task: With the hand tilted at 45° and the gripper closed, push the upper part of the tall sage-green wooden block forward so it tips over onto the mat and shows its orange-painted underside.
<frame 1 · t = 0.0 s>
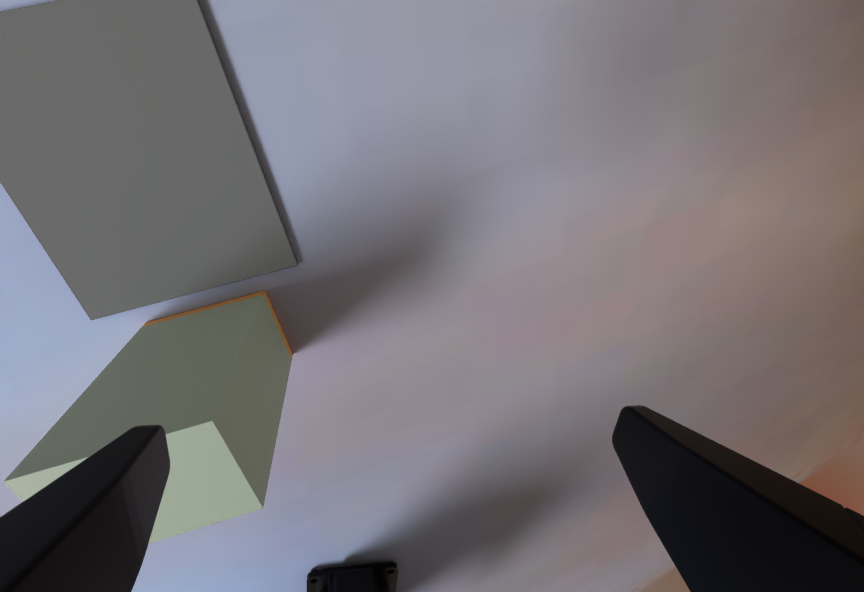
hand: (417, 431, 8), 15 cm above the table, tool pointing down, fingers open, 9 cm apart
mat: (136, 167, 18), on the table
block: (222, 339, 22), on the table
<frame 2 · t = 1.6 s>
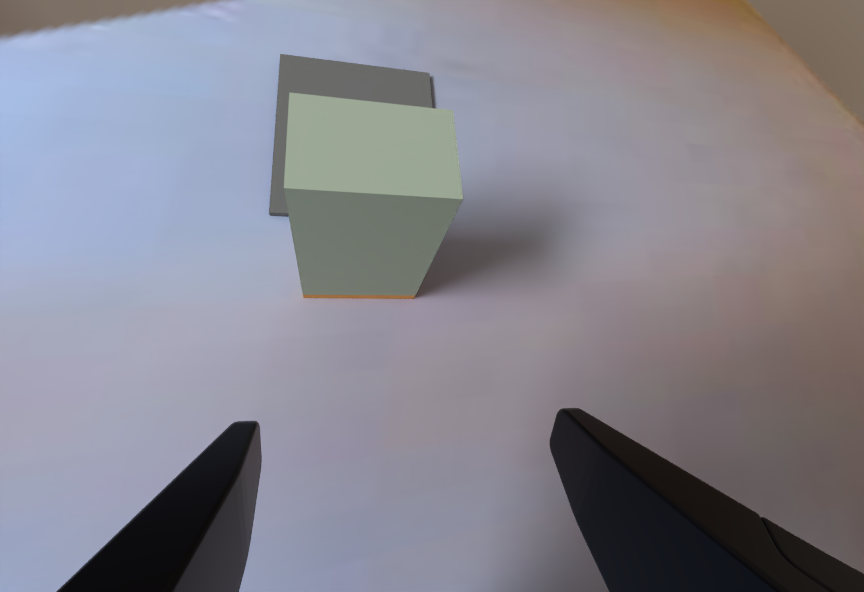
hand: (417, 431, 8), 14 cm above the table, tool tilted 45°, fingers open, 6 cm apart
mat: (358, 137, 27), on the table
block: (359, 265, 24), on the table
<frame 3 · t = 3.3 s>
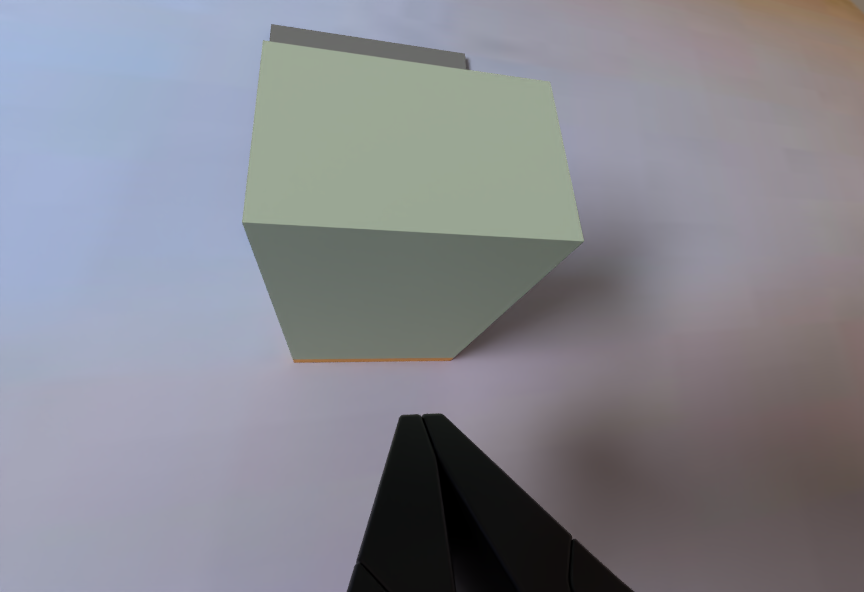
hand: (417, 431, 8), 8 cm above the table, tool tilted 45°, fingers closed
mat: (373, 135, 20), on the table
block: (374, 312, 17), on the table
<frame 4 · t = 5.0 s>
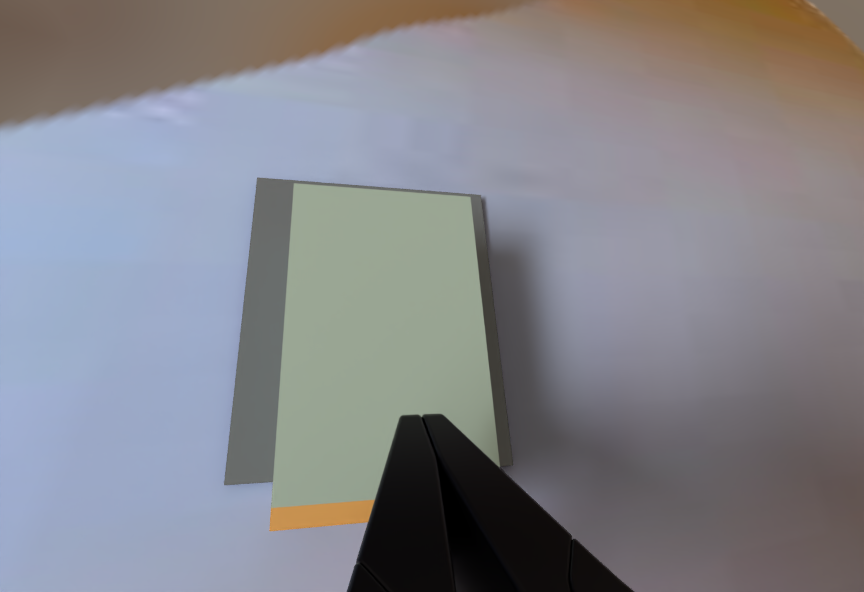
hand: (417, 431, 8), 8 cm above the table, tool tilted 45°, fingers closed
mat: (376, 314, 17), on the table
block: (385, 512, 13), point 2 cm above the table, tilted 90°, touching mat
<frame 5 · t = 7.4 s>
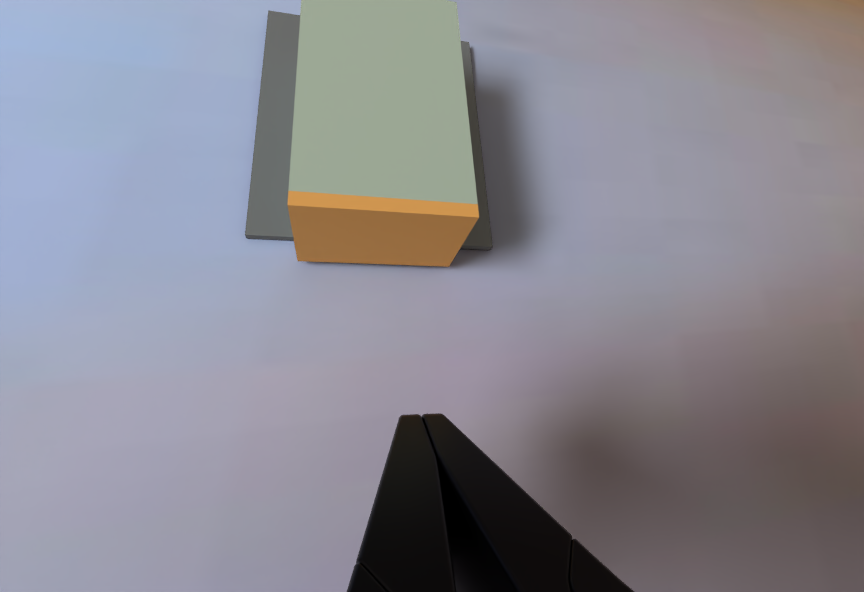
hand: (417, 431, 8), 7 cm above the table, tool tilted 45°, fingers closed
mat: (374, 127, 20), on the table
block: (381, 240, 15), point 2 cm above the table, tilted 90°, touching mat
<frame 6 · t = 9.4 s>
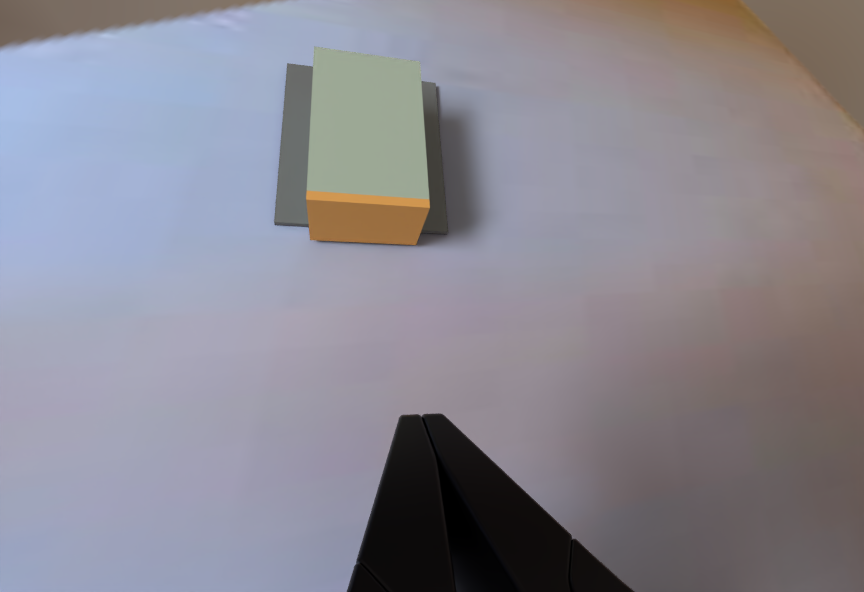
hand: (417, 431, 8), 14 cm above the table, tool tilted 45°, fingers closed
mat: (364, 147, 27), on the table
block: (367, 224, 23), point 2 cm above the table, tilted 90°, touching mat
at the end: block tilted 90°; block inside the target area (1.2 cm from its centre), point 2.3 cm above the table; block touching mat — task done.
